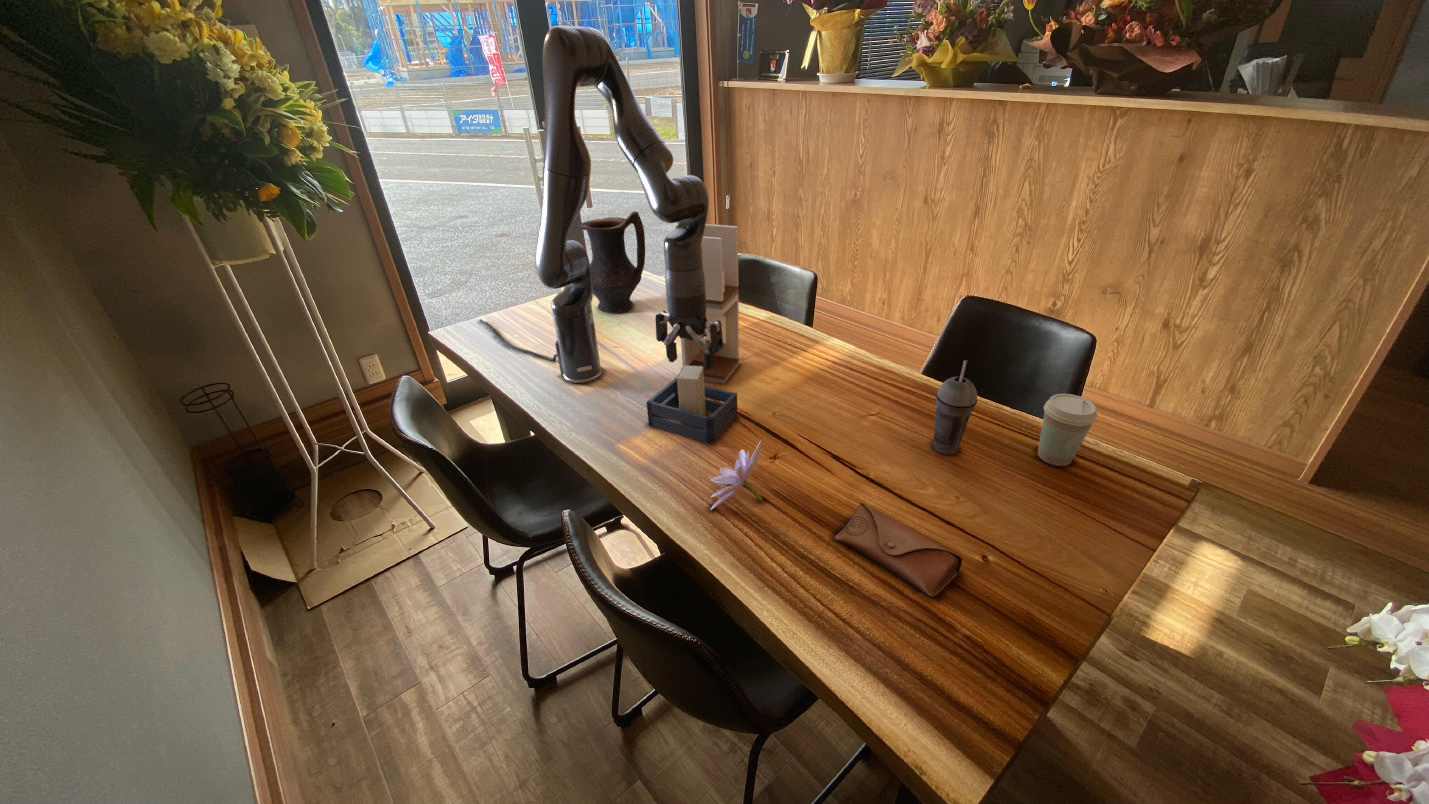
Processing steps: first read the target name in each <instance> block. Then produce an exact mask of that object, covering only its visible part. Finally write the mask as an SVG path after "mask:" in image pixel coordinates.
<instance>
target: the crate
mask: <svg viewBox="0 0 1429 804" xmlns="http://www.w3.org/2000/svg"><path fill="white" fill-rule="evenodd" d="M677 378H678V377H675V378H674V379H673V380H671V381H670V382H669V383H668V384H667V385H666V386H664V387H662V389H660V390H659V391H658V392H657V393H656V394H654V395H653V396H652V397H650V399H648V400H647V401H646V412H647V419H648V426H649V427H653V428H655V429H659V430H662V431H666V432H669V433H673V434H676V435H679V436H683V437H685V438H689V439H692V440H696V441H700V442H703V443H707V444H709V445H713V444H714V443H715V441H717V439H718V438H720V436H721V435H722V434H723V433H724V432H725V431H726V430H727V428H729V426H730V425H731V424H732V423H734V421H735V420H736V419H737V418H738V392H732V391H729V390H725V389H721V388H717V387H712V386H710V385H705V384H704V389H705V405H706V412H710V413H712V414H711V415H708V416H707V415H706V416H703V415H699V414H696V413H692V412H689V411H685V410H681V409H680V408H677V407H676V406H677V405H679V395H678V384H677ZM681 422H683V423H687V424H690V425H694V426H697V427H701V428H697V427H694V426H690V425H687V424H683V423H681Z"/></svg>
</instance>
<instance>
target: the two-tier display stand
mask: <svg viewBox="0 0 1429 804" xmlns="http://www.w3.org/2000/svg"><path fill="white" fill-rule="evenodd" d="M738 229H739V226H737V225H725V224H710V223H706V225H705V230H704V235H703V239H702V258H703V270H704V275H705V292H706V319H707V321H711V322H715V321H717V320H719V321H721V327H722V338H723V348H722V349H720V350H719V351H718V352H717V353H714V356H715V364H714V366H713V367H712V368H711V369H709V370H705V367H704V353H705V352H704V351H703V349H702V348H701V347H700V346H698V345H697V344H696V342H695V341H694V340H689V339H687V338H680V346H681V363H682V367H683V366H684V365H688V366H703V373H704V382H708V383H709V382H710V383H716V384H722V385H724V384H726V382H727V381H728V380H729V378H730V377H731V376H732V374H733V373H734V372H735V371H736V370H737V368H738V367H739V366H740V323H739V317H740V316H739V313H740V312H739V235H738V234H739V230H738ZM706 330H707V332H708V331H709V330H708V328H707V327H706ZM708 333H709V332H708ZM709 335H710V333H709ZM700 338H701V339H702V338H703V336H702V334H701V336H700ZM710 339H711V335H710ZM681 370H682V368H681V369H680V371H681Z"/></svg>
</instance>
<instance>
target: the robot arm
mask: <svg viewBox="0 0 1429 804" xmlns="http://www.w3.org/2000/svg"><path fill="white" fill-rule="evenodd" d="M542 73H543V74H542V76H543V93H544V94H543V95H544V146H543V147H544V149H543V160H542V191H541V192H542V194H541V207H540V208H541V210H540V220H539V229H538V235H537V242H536V247H535V255H534V264H535V271H536V275H537V277H538V279H539V281H540V283H541V284H542V286H544V287H546V288H547V289H551V290H556V289H557V290H558V289H560V290H559V292H557V294H556V295H555V296H554V297H553V298H552V300H551V301H550V307H551V308H550V309H551V314H552V318H553V323H554V329H555V334H556V340H555V342H554V345H555V350H556V353H555V354H553V357H547V356H544V355H541V354H539V353H537V352H534V351H531V350H527V349H523V348H520V347H517V346H514V345H513V344H510V343H508V341H505V339H503V338H502V337H501V336H499V335H498V333H497V332H496V330H495V329H494V328H493V327H492V326H491V325H489V324H488V323H487V322H485V321H484V320H482V319H479V320H478V321H479V322H480V323H481V324H483V325H484V326H485V327H486V328H488V329H489V330H490V331H491V332H492V334H493V336H495V337H496V339H498V340H499V341H500V342H501V344H503V345H505V346H507V347H509V348H510V349H513V350H515V351H518V352H522V353H526V354H529V355H532V356H534V357H537V358H540V359H543V360H547V361H550V362H555V361H556V360H557V361H558V362H557V363H558V366H559V371H560V376H561V377H563V378H564V380H565V381H567V382H568V383H572V384H586V383H590V382H593V381H595V380H597V379H598V378H600V377H601V376H602V373H603V371H602V366H601V359H600V353H599V346H598V339H597V333H596V327H595V319H594V314H593V313H594V312H593V306H592V302H593V298H594V295H593V290H592V279H591V269H590V264H591V262H590V259H589V255H588V253H587V251H586V249H585V248H584V246H583V245H582V244H581V243H580V242H578V241H577V240H573V239H568V237H569V233H570V231H571V229H572V227H573V225H574V223H575V221H576V220H577V217H578V216H579V214H580V213H581V211H582V208H583V207H584V205H585V202H586V200H587V198H588V196H589V195H588V194H589V190H590V183H591V182H590V180H591V172H592V171H591V170H592V158H591V155H590V152H589V148H588V146H587V144H586V142H585V140H584V138H583V135H582V133H581V132H580V129H579V127H578V123H577V120H576V93H577V89H578V88H583V87H588V88H589V87H594V88H595V89H596V90H597V91H598V92H599V93H600V94H601V95H602V96H603V98H604V99H605V101H606V102H607V104H608V106H609V107H610V111H611V118H612V126H613V135H614V137H615V140H616V142H617V145H618V147H619V149H620V150H621V152H622V154H623V155H624V156H625V158H626V160H627V161H628V162H629V164H630V165H631V167H632V168H633V170H634V171H635V172H636V174H637V175H638V179H639V181H640V184H641V187H642V189H643V191H644V195H645V198H646V200H647V203H648V206H649V208H650V210H651V211H652V213H653V214H654V216H656V218H657V219H658V220H660V221H662V222H664V223H667V224H675V223H676V225H675V228H674V229H673V230H672V231H671V232H670V233H668V234H667V235H666V236H665V237H664V240H663V254H664V266H665V267H664V269H665V271H664V272H665V274H664V283H665V292H666V293H665V294H666V295H665V297H666V305H667V311H666V310H664V309H663V310H661V311H660V312H658V313H656V314H655V316H654V317H655V338H656V339H655V340H656V341H657V342H661V343H663V344H664V345H665V353H666V358H667V359H668V362H669V363H674V362H675V361H676V360H677V359H678V349H677V348H678V347H677V342H675V341H676V340H677V339H678V338H679V339H681V338H687V339H689V340H694V341H695V342H696V344H697V345H698V346H700V347H701V348H702V349H703V351H704V352H705V353H704V367H705V370H709V369H711V368H712V367H713V366H714V364H715V356H714V353H717V352H718V351H719V350H720V349H722V348H723V338H722V327H721V321H719V320H717V321H715V322H711V321H707V319H706V292H705V275H704V270H703V258H702V239H703V235H704V230H705V225H706V224H707V219H708V214H709V207H710V206H709V203H710V201H709V194H708V190H707V187H706V185H705V184H704V182H703V180H701V179H700V178H699V177H698V176H695V175H691V174H690V175H688V174H687V175H683V176H680V177H675V178H670V177H669V176H668V174H667V173H669V171H670V170H671V168H672V166H673V164H674V156H673V154H672V152H671V150H670V148H669V146H668V145H667V144H666V142H665V141H664V139H663V138H662V137H661V135H660V134H659V132H658V130H656V128H655V127H654V125H653V123H651V121H650V119H649V118H648V116H647V114H646V113H645V112H644V110H643V108H642V106H641V104H640V102H639V101H638V99H637V97H636V94H635V93H634V90H633V88H632V86H631V84H630V82H629V80H628V78H627V76H626V73H625V72H624V70H623V68H622V65H621V63H620V62H619V59H618V57H617V55H616V54H615V51H614V49H613V47H612V46H611V44H610V42H609V41H608V39H607V38H606V37H605V35H604V34H603V33H602V32H601V31H600V30H598V29H596V28H594V27H590V26H588V27H587V26H577V25H555V26H552V27H551V28H550V29H549V30H548V31H547V33H546V35H545V38H544V41H543V48H542ZM668 323H669V325H670V326H671V330H670V331H669V332H668ZM706 327H707V328H708V330H709V331H708V332H709V333H710V335H711V339H710V335H709V333H708V332H707V330H706ZM701 334H702V336H703V338H702V339H701V338H700V336H701Z"/></svg>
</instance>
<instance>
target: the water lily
mask: <svg viewBox="0 0 1429 804" xmlns="http://www.w3.org/2000/svg"><path fill="white" fill-rule="evenodd" d="M761 447H762V440H760V441H759V442H758V444H757V446H756V448H755V450H754V451H753V452H752V455H751V457H750V454H749V451H747V452H746V451H745V449H741V450H740V451H739V453H738V455H737V459H736V460H735V462H734V469H732V468H729V467H720V468H719V472H720V474H719V475H716V476H714V477H712V478H710V481H712V482H713V483H715V484H719V485H729V486H725V487H723V488H721V489H719V490H717V491H715V492H714V493H713V494H712V495H711V496H710V498H715V497H719V496H720V497H719V498H718V499H717V500H716V501H715V503H714V504H713V505H712V506H711V507H710V510H709V511H712V510H714V509H715V508H716V509H717V507H719V506H721V505H723V504H724V503H726V502H727V501H728V500H730V498H731V497H733V496H734V495H735V494H736V493H737V492H738V491H739V490H740V489H741V488H742V487H743V485H745V486H746V487H747V488H748V489H749V490H750V491H751V492H752V494H753V495H754V496H755V497H756V499H757V500H758V501H759V502H761V501H763V497H762V496H761V495H760V493H759V492H757V490H756V489H755V488H754V487H753V486H752V485H751V484H750V483H749V482H748V481H747V480H749V478H750V477H751V475H752V474H753V472H754V469H755V467H756V464H757V463H758V460H759V457H760V453H761Z"/></svg>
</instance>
